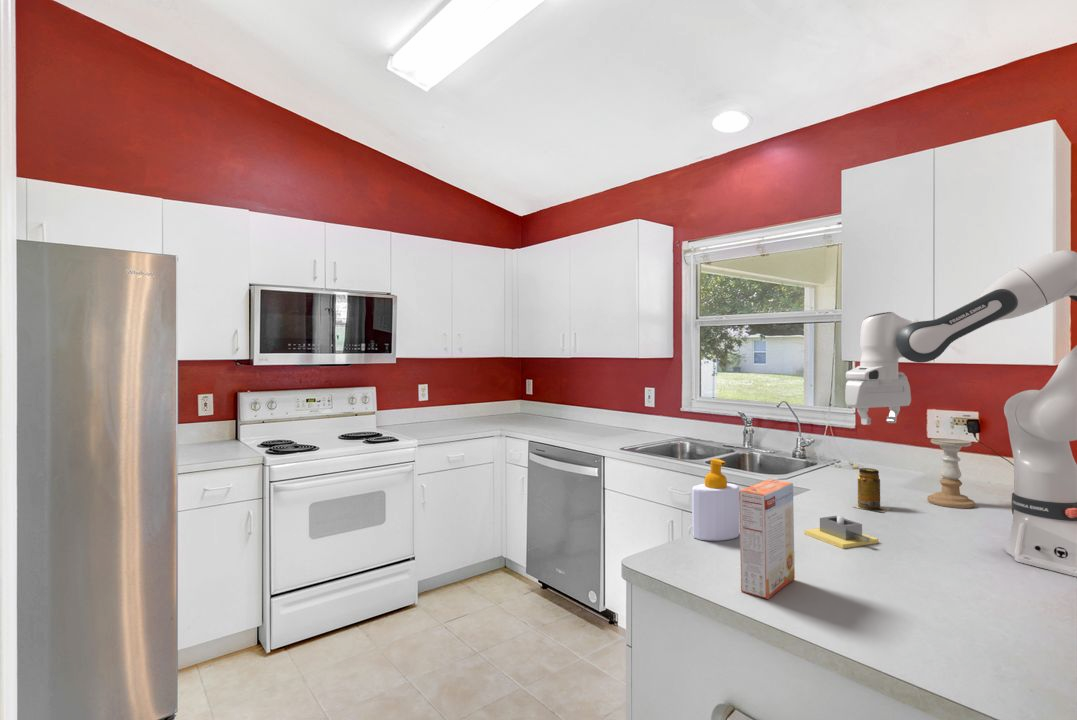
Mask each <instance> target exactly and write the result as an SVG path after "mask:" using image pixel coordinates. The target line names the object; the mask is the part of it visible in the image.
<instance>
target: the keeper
mask: <svg viewBox="0 0 1077 720" xmlns="http://www.w3.org/2000/svg"><path fill="white" fill-rule="evenodd" d="M836 516H837V522H838V523H841V524H844V519H845V517H844V516H840V515H839V516H838V515H836ZM803 534H804V535H807V536H808V537H811V538H813V539H816V540H819V541H822V542H824V543H826V544H830V545H833V546H835V547H838V548H840V549H849V548H855V547H862V546H868V545H872V544H873V545H875V544H879V538H877V537H875V536H872V535H868V534H865V533H863V532H862V536H865V537H868V538H870V542H864V541H861V540H858V539H852V540H843V539H840V538H837V537H835V536H832V535H829V534H826V533H824V532H821V531H820V527H818V528H812V529H805V530H804V533H803Z"/></svg>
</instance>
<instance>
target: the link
mask: <svg viewBox="0 0 1077 720" xmlns="http://www.w3.org/2000/svg"><path fill="white" fill-rule="evenodd" d="M837 516H838V515H833V516H824V517H819V528H820V531H821V532H824V533H826V534H829V535H832V536H835V537H837V538H840V539H843V540H852V539H858V540H861V541H864V542H870V538H868V537H865V536H862V533H863V523H860V522H856V521H854V520H853V521H852V520H850V519H847V518H844V524H841V523H838V522H837Z"/></svg>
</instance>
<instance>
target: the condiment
mask: <svg viewBox="0 0 1077 720" xmlns="http://www.w3.org/2000/svg"><path fill="white" fill-rule="evenodd" d="M879 471H880V470H878V469H875V468H869V467H861V468H859V471H858V472H859V473H858V477H857V504H856V505H853V506H852V508H856V509H861V510H867V511H873V512H880V513H885V512H888V511H890V510H891V509H892V508H891V507H885V506H881V479H880V474H879V473H880V472H879Z"/></svg>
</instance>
